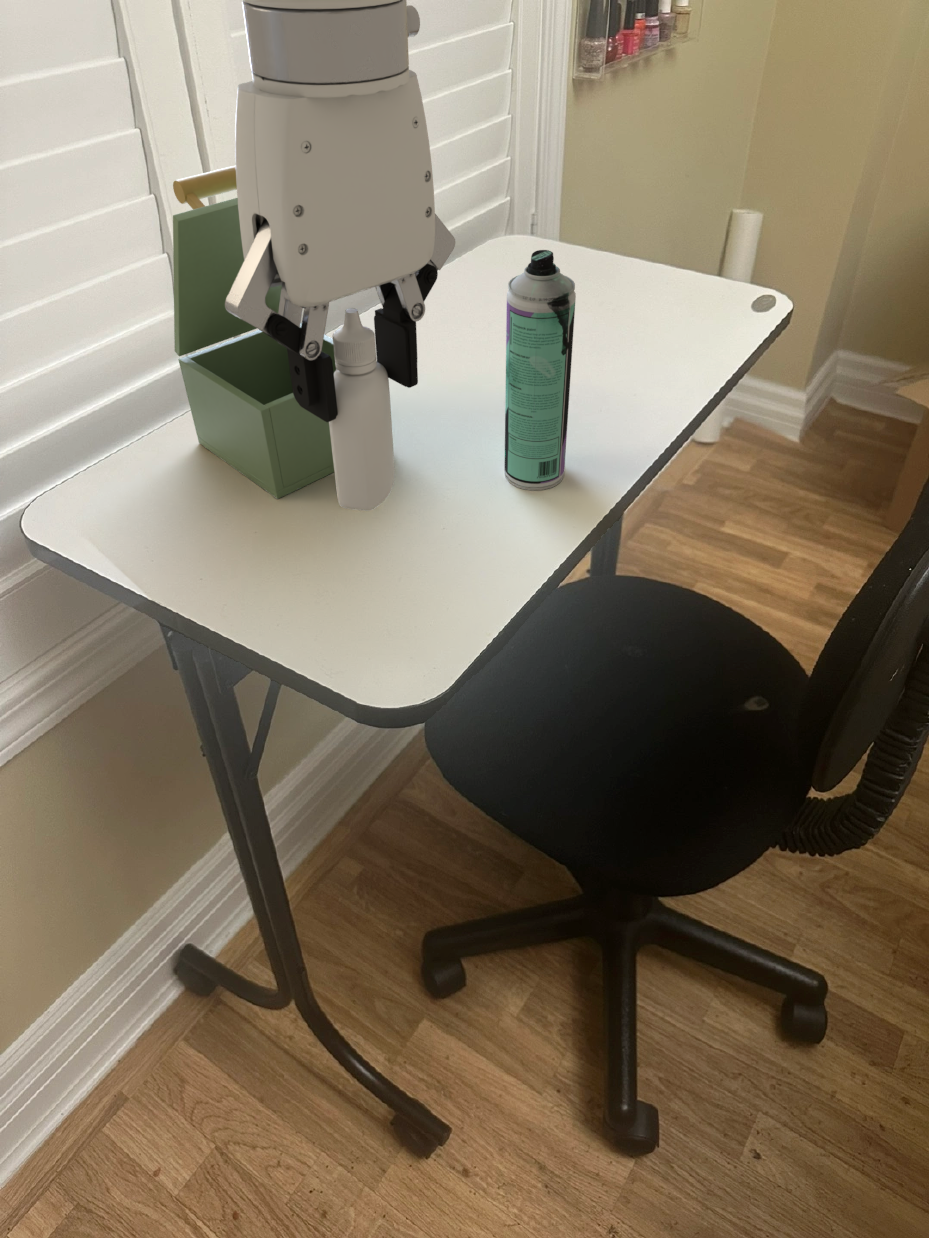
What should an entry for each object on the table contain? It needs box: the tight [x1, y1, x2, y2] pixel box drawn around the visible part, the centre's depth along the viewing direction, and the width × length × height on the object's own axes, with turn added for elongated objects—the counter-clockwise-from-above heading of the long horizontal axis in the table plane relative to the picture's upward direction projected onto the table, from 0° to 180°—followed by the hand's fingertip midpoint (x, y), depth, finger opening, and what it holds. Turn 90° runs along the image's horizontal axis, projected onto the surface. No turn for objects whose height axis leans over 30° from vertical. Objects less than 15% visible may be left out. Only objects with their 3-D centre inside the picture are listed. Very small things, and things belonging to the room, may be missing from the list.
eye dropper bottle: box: [329, 307, 396, 512], centre depth 55 cm, size 4×6×12 cm
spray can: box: [504, 249, 577, 491], centre depth 76 cm, size 6×6×20 cm
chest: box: [178, 322, 336, 500], centre depth 85 cm, size 14×13×9 cm
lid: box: [172, 164, 282, 357], centre depth 80 cm, size 14×13×6 cm
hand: (358, 392), depth 55 cm, fingers closed on eye dropper bottle, 5 cm apart
